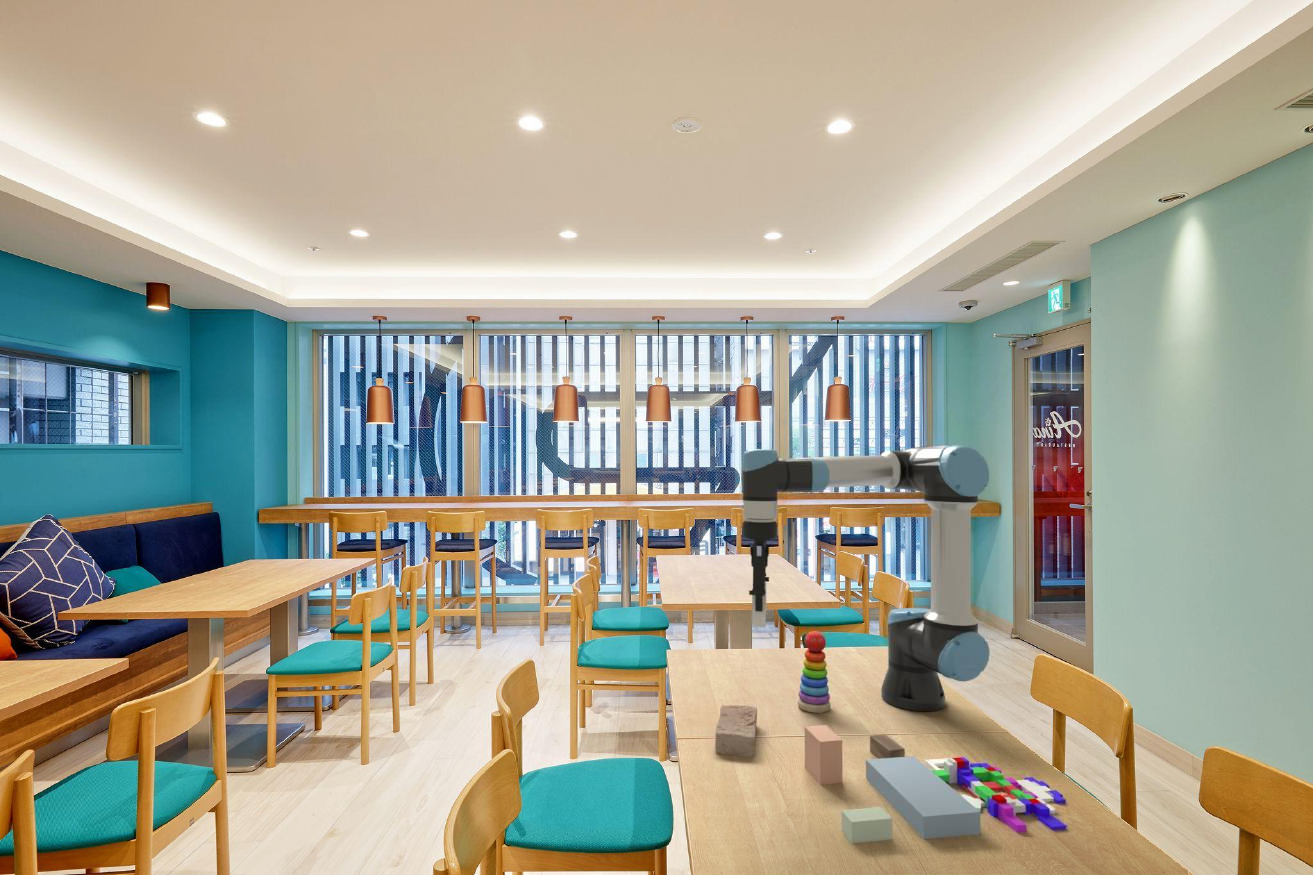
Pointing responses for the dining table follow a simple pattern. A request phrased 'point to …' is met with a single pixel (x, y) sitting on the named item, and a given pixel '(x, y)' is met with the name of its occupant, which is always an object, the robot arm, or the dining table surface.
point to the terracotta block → (823, 754)
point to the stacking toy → (814, 676)
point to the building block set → (1001, 804)
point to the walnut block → (885, 747)
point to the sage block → (866, 824)
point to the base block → (923, 798)
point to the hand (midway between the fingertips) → (759, 618)
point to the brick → (736, 730)
